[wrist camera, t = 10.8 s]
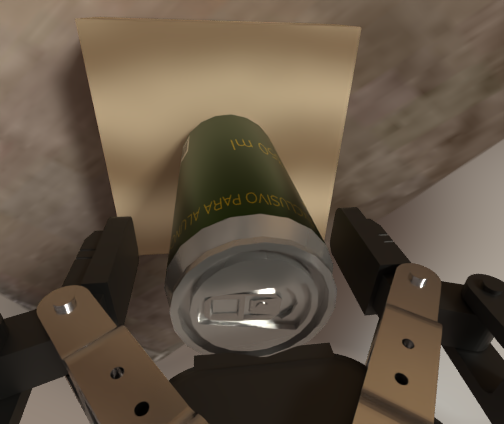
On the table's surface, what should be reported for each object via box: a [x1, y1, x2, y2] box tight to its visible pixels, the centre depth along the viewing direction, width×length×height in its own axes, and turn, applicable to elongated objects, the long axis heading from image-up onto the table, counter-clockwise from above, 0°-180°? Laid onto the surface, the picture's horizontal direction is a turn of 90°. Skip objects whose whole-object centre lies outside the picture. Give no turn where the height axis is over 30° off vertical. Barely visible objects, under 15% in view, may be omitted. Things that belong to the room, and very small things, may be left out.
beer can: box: [164, 114, 337, 357], centre depth 15 cm, size 5×5×12 cm
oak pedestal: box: [75, 17, 361, 255], centre depth 22 cm, size 14×14×4 cm
